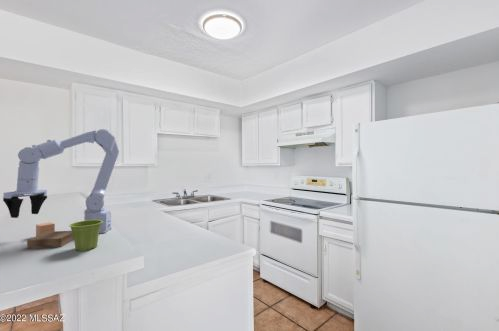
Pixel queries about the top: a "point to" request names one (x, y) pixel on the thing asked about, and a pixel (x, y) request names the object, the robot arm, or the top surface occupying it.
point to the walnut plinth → (50, 239)
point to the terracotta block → (45, 228)
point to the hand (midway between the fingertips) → (25, 215)
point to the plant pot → (86, 234)
